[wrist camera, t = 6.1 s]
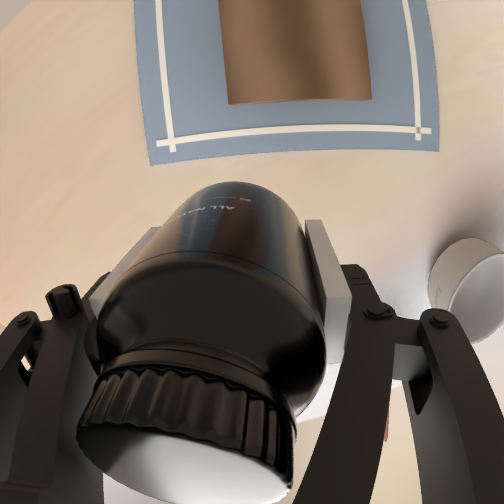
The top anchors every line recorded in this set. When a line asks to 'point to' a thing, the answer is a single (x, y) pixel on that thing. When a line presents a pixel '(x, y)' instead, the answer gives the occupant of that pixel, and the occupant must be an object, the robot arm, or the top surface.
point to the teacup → (470, 286)
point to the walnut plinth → (294, 51)
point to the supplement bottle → (208, 354)
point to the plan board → (280, 113)
